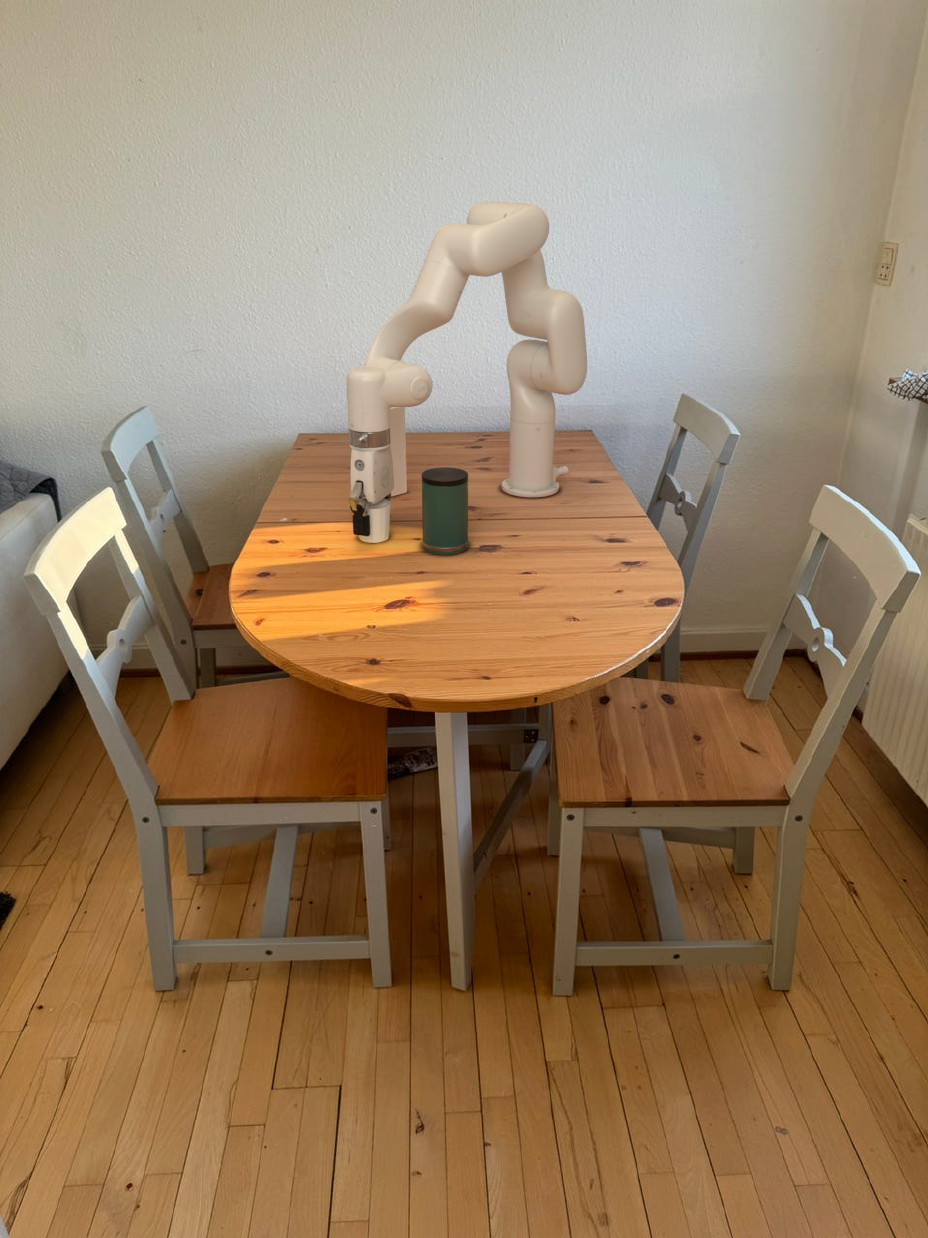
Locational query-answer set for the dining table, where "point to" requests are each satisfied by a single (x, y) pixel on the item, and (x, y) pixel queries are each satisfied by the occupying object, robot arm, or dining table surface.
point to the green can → (445, 510)
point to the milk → (398, 449)
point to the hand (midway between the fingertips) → (372, 526)
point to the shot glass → (378, 521)
